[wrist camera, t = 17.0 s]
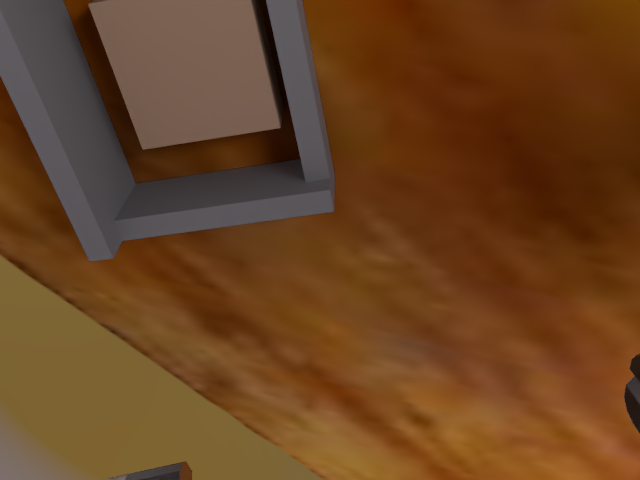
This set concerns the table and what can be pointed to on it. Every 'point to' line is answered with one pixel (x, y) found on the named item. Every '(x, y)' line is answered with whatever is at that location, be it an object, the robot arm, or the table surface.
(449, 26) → the table surface
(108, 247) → the nook
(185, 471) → the robot arm
